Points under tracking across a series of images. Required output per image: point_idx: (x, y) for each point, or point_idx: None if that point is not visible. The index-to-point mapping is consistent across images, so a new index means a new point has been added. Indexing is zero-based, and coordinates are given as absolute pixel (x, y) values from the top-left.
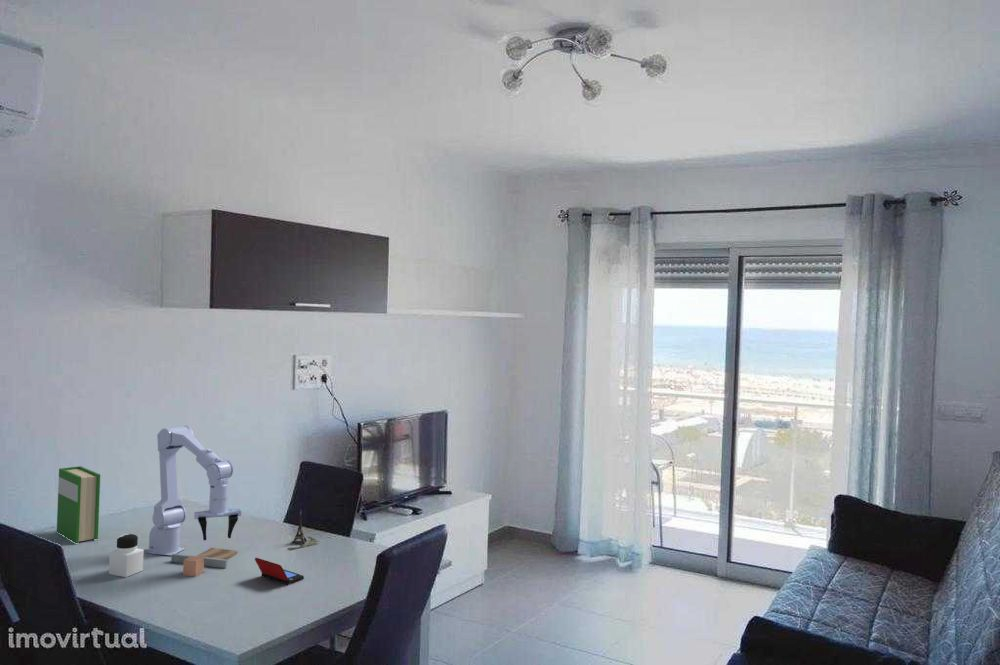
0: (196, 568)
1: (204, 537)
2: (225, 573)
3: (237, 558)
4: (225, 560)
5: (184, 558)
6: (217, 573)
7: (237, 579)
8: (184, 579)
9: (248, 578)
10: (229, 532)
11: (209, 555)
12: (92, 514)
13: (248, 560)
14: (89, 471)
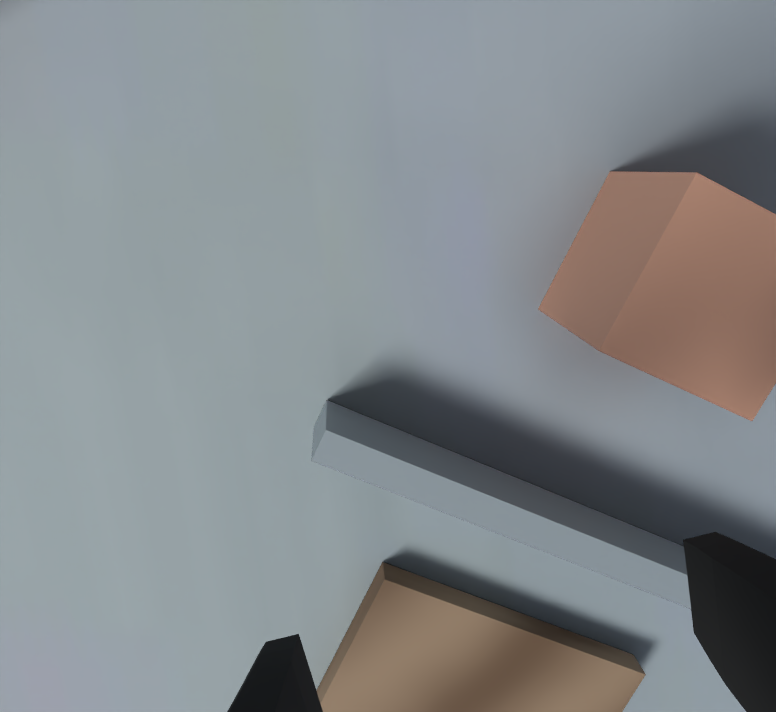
0: (642, 182)
1: (748, 553)
2: (307, 237)
3: (247, 666)
4: (332, 439)
5: None
6: (392, 245)
7: (139, 7)
8: (719, 87)
9: (10, 27)
10: (271, 707)
11: (517, 695)
12: None
13: (127, 609)
14: None
